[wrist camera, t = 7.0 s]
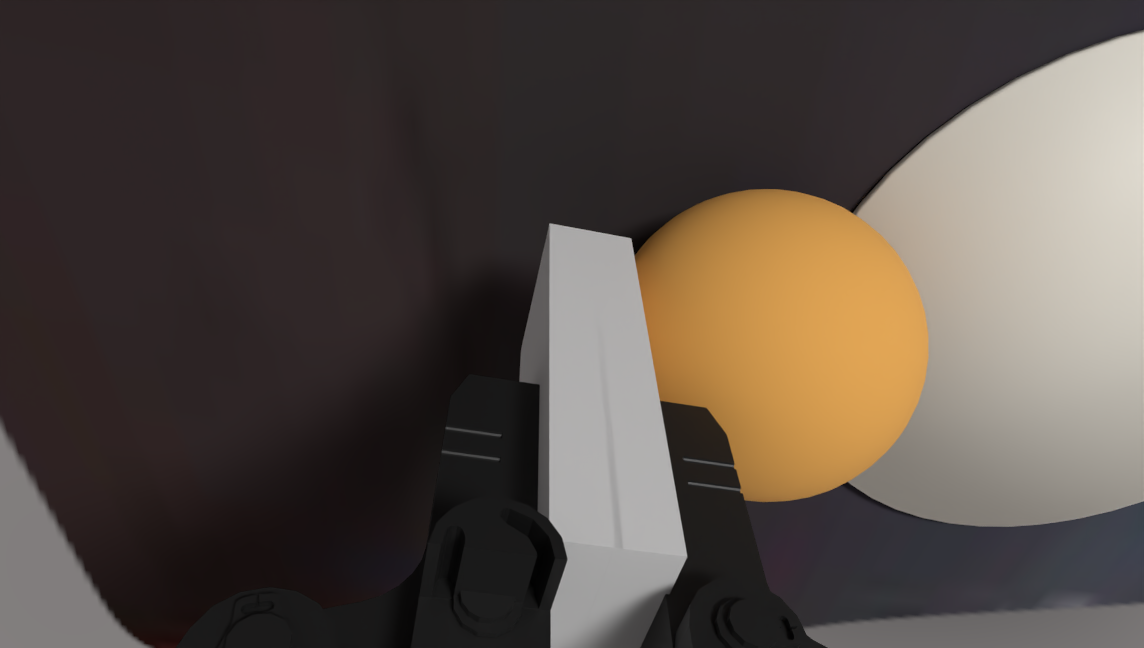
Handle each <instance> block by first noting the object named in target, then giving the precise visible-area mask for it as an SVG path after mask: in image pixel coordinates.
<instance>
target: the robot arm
mask: <svg viewBox="0 0 1144 648" xmlns="http://www.w3.org/2000/svg"><path fill="white" fill-rule="evenodd" d="M734 464H735V463H734V459H733V455H732V452H731V448H730V444H729V441H728V437H727V434H726V433H725V431H724V430H723V429H722V427H721V426H720V425H719V424H718V422H717V421H716V420H715V418H714V417H713V416H712V414H711V413H710V412H709V410H708V409H707V408H705V407H698V406H692V405H685V404H679V403H672V402H665V401H660V399H659V393H658V387H657V382H656V376H655V370H654V365H653V359H652V353H651V348H650V342H649V336H648V331H647V325H646V319H645V314H644V308H643V302H642V297H641V291H640V285H639V280H638V274H637V268H636V263H635V257H634V251H633V246H632V240H631V238H626V237H621V236H615V235H610V234H604V233H599V232H593V231H588V230H583V229H577V228H572V227H566V226H561V225H555V224H549V228H548V232H547V237H546V241H545V246H544V250H543V255H542V259H541V263H540V268H539V272H538V277H537V281H536V286H535V290H534V294H533V299H532V303H531V308H530V312H529V317H528V321H527V325H526V330H525V334H524V339H523V343H522V348H521V360H520V380H519V381H512V380H506V379H499V378H493V377H486V376H479V375H473V374H469V375H468V376H467V378H466V379H465V380H464V381H463V382H462V384H461V385H460V386H459V387H458V388H457V389H456V391H455V392H454V393H453V394H452V395H451V397H450V403H449V409H448V415H447V421H446V427H445V433H444V439H443V445H442V451H441V457H440V463H439V469H438V475H437V482H436V488H435V494H434V500H433V507H432V513H431V519H430V525H429V532H428V538H427V544H426V549H425V552H424V555H423V558H422V560H421V562H420V563H419V565H418V566H417V568H416V569H415V571H414V572H413V574H412V575H410V576H409V577H408V578H407V579H406V580H405V581H404V582H403V583H402V584H400V585H399V586H398V587H396V588H394V589H392V590H391V591H389V592H387V593H385V594H383V595H381V596H378V597H375V598H372V599H368V600H365V601H362V602H357V603H352V604H347V605H341V606H336V607H331V608H326V609H322V607H321V606H320V604H319V603H317V602H315V601H313V600H312V599H310V598H308V597H306V596H305V595H303V594H301V593H299V592H298V591H293V590H286V589H279V588H273V587H267V588H261V589H255V590H250V591H244V592H239V593H237V594H235V595H233V596H231V597H230V598H228V599H226V600H224V601H222V602H220V603H218V604H216V605H214V606H212V607H211V608H210V609H209V610H208V611H207V612H206V613H205V614H204V615H203V616H202V617H201V618H200V619H199V620H198V621H197V622H196V623H195V624H194V625H193V626H192V627H191V628H190V629H189V630H188V632H187V633H186V634H185V636H184V637H183V638H182V640H181V641H180V643H179V644H178V645H177V647H176V648H827V647H825V646H823V645H821V644H819V643H818V642H816V641H814V640H812V639H811V638H810V637H808V636H807V635H806V633H805V631H804V629H803V627H802V625H801V623H800V621H799V619H798V617H797V615H796V614H795V613H794V612H793V611H792V610H791V609H790V608H789V607H788V606H787V605H786V603H785V602H784V601H783V600H782V599H781V598H780V597H778V596H777V595H775V594H774V593H772V592H770V589H769V587H768V584H767V582H766V578H765V574H764V571H763V567H762V563H761V560H760V556H759V552H758V548H757V545H756V541H755V537H754V533H753V530H752V526H751V522H750V519H749V515H748V511H747V507H746V504H745V500H744V496H743V493H740V489H741V485H740V481H739V478H738V474H737V470H736V469H734Z"/></svg>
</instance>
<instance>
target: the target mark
mask: <svg viewBox="0 0 1144 648" xmlns="http://www.w3.org/2000/svg"><path fill="white" fill-rule="evenodd" d="M853 214H854V215H856V216H857V217H859V218H861V219H862V220H863V221H865V222H866V223H867V224H868V225H870V226H871V227H872V228H873V229H874V230H876V231H877V232H878V233H879V234H880V235H882V236H883V238H884V239H885V240H886V241H887V242H888V243H889V244H890V245H891V246H892V248H893V249H894V250H895V251H896V252H897V254H898V255H899V257H900V258H901V260H902V261H903V263H904V264H905V266H906V267H907V269H908V271H909V273H910V275H911V277H912V279H913V281H914V283H915V285H916V287H917V289H918V292H919V294H920V298H921V301H922V304H923V307H924V311H925V315H926V322H927V328H928V356H929V358H928V365H927V371H926V378H925V383H924V386H923V389H922V392H921V395H920V399H919V402H918V404H917V406H916V408H915V410H914V412H913V414H912V416H911V418H910V420H909V422H908V424H907V426H906V428H905V429H904V431H903V432H902V434H901V435H900V436H899V438H898V439H897V440H896V442H895V443H894V444H893V445H892V447H891V448H890V449H889V450H888V451H887V452H886V453H885V454H884V455H883V456H882V457H881V458H879V459H878V460H877V461H876V462H875V463H874V464H873V465H872V466H871V467H869V468H868V469H867V470H865V471H864V472H862V473H861V474H859V475H858V476H856V477H855V478H853V479H852V480H850V481H848V482H849V483H850V484H851V485H852V486H854V487H856V488H857V489H859V490H860V491H862V492H863V493H865V494H866V495H868V496H869V497H871V498H873V499H875V500H877V501H879V502H881V503H883V504H885V505H888V506H890V507H892V508H894V509H896V510H899V511H903V512H906V513H909V514H912V515H915V516H918V517H921V518H926V519H931V520H936V521H941V522H946V523H951V524H961V525H971V526H1002V527H1012V526H1025V525H1038V524H1048V523H1054V522H1061V521H1067V520H1073V519H1079V518H1084V517H1088V516H1092V515H1096V514H1101V513H1105V512H1109V511H1113V510H1117V509H1120V508H1123V507H1126V506H1130V505H1133V504H1136V503H1139V502H1143V501H1144V30H1141V31H1137V32H1133V33H1129V34H1124V35H1120V36H1117V37H1114V38H1111V39H1108V40H1105V41H1102V42H1100V43H1097V44H1094V45H1091V46H1088V47H1085V48H1083V49H1080V50H1077V51H1074V52H1071V53H1068V54H1066V55H1064V56H1061V57H1059V58H1057V59H1055V60H1053V61H1051V62H1049V63H1046V64H1044V65H1042V66H1040V67H1038V68H1036V69H1034V70H1032V71H1029V72H1027V73H1025V74H1023V75H1021V76H1019V77H1017V78H1015V79H1013V80H1011V81H1010V82H1008V83H1006V84H1005V85H1003V86H1001V87H1000V88H998V89H996V90H995V91H993V92H991V93H990V94H988V95H986V96H985V97H983V98H981V99H980V100H978V101H976V102H975V103H973V104H971V105H969V106H968V107H967V108H965V109H964V110H963V111H961V112H960V113H959V114H957V115H956V116H954V117H953V118H952V119H950V120H949V121H948V122H946V123H945V124H944V125H942V126H941V127H939V128H938V129H937V130H935V131H934V132H933V133H931V134H930V135H929V136H927V137H926V138H925V139H924V140H923V141H922V142H921V143H919V144H918V145H917V146H916V147H915V148H914V149H913V150H912V151H911V152H909V153H908V154H907V155H906V156H905V157H904V158H903V159H902V160H901V161H899V162H898V163H897V164H896V165H895V166H894V167H893V168H892V169H891V170H890V171H889V172H888V173H887V174H886V175H885V176H884V177H883V178H882V179H881V181H880V182H879V183H878V184H877V185H876V186H875V187H874V188H873V189H872V191H871V192H870V193H869V194H868V195H867V196H866V197H865V198H864V199H863V200H862V202H861V203H860V204H859V205H858V206H857V208H856V209H855V211H854V212H853Z"/></svg>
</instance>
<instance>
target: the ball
mask: <svg viewBox="0 0 1144 648" xmlns="http://www.w3.org/2000/svg"><path fill="white" fill-rule="evenodd" d="M634 257H635V263H636V268H637V274H638V280H639V285H640V291H641V297H642V302H643V308H644V314H645V319H646V325H647V331H648V336H649V342H650V348H651V353H652V359H653V365H654V370H655V376H656V382H657V387H658V393H659V399H660V401H665V402H672V403H679V404H685V405H692V406H698V407H705V408H707V409H708V410H709V412H710V413H711V414H712V416H713V417H714V418H715V420H716V421H717V422H718V424H719V425H720V426H721V427H722V429H723V430H724V431H725V433H726V434H727V437H728V441H729V444H730V448H731V452H732V455H733V459H734V463H735V464H734V469H736V470H737V474H738V478H739V481H740V485H741V489H740V493H743V496H744V500H748V501H758V502H775V501H790V500H796V499H801V498H807V497H811V496H814V495H817V494H820V493H823V492H826V491H829V490H832V489H834V488H836V487H838V486H840V485H842V484H844V483H846V482H848V481H850V480H852V479H853V478H855V477H856V476H858V475H859V474H861V473H862V472H864V471H865V470H867V469H868V468H869V467H871V466H872V465H873V464H874V463H875V462H876V461H877V460H878V459H879V458H881V457H882V456H883V455H884V454H885V453H886V452H887V451H888V450H889V449H890V448H891V447H892V445H893V444H894V443H895V442H896V440H897V439H898V438H899V436H900V435H901V434H902V432H903V431H904V429H905V428H906V426H907V424H908V422H909V420H910V418H911V416H912V414H913V412H914V410H915V408H916V406H917V404H918V402H919V399H920V395H921V392H922V389H923V386H924V383H925V378H926V371H927V365H928V358H929V356H928V328H927V322H926V315H925V311H924V307H923V304H922V301H921V298H920V294H919V292H918V289H917V287H916V285H915V283H914V281H913V279H912V277H911V275H910V273H909V271H908V269H907V267H906V266H905V264H904V263H903V261H902V260H901V258H900V257H899V255H898V254H897V252H896V251H895V250H894V249H893V248H892V246H891V245H890V244H889V243H888V242H887V241H886V240H885V239H884V238H883V236H882V235H880V234H879V233H878V232H877V231H876V230H874V229H873V228H872V227H871V226H870V225H868V224H867V223H866V222H865V221H863V220H862V219H861V218H859V217H857V216H856V215H854V214H853V213H851V212H849V211H848V210H846V209H844V208H843V207H841V206H838V205H836V204H834V203H832V202H829V201H827V200H825V199H822V198H818V197H815V196H811V195H807V194H804V193H800V192H794V191H787V190H779V189H756V190H745V191H739V192H733V193H728V194H725V195H721V196H718V197H715V198H712V199H709V200H706V201H703V202H701V203H699V204H697V205H695V206H693V207H691V208H689V209H687V210H685V211H683V212H682V213H680V214H678V215H677V216H675V217H674V218H673V219H671V220H670V221H669V222H667V223H666V224H665V225H664V226H662V227H661V228H660V229H659V230H658V231H656V232H655V233H654V234H653V235H652V236H651V237H650V238H649V239H648V240H647V241H646V242H645V244H644V245H643V246H642V247H641V248H640V249H639V251H638V252H637V253H636V255H635V256H634Z"/></svg>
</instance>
